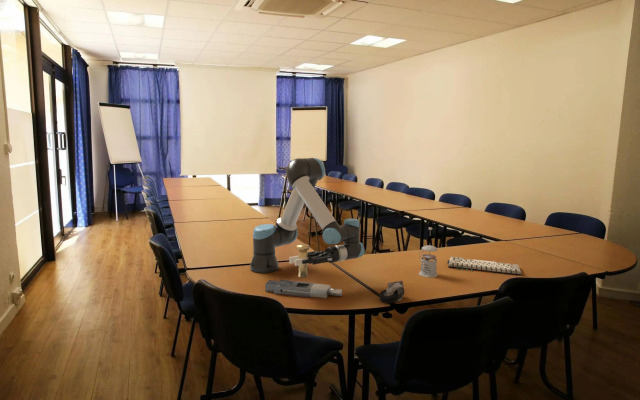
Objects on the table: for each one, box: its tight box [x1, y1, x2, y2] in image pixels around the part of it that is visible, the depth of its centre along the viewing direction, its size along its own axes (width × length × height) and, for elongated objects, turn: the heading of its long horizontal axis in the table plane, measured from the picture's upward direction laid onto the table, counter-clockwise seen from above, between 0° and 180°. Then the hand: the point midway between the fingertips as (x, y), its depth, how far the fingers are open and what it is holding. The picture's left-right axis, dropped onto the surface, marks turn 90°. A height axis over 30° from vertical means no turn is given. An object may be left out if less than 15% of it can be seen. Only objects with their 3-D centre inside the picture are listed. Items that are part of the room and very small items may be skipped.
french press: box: [418, 226, 439, 278], centre depth 215 cm, size 10×12×25 cm
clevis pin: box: [296, 243, 310, 278], centre depth 185 cm, size 6×6×14 cm
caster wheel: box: [378, 280, 406, 305], centre depth 179 cm, size 7×11×10 cm
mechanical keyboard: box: [447, 255, 522, 277], centre depth 228 cm, size 38×19×3 cm, turn 71°
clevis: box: [264, 279, 343, 299], centre depth 187 cm, size 35×9×4 cm, turn 76°
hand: (292, 261), depth 182 cm, fingers closed on clevis pin, 4 cm apart
